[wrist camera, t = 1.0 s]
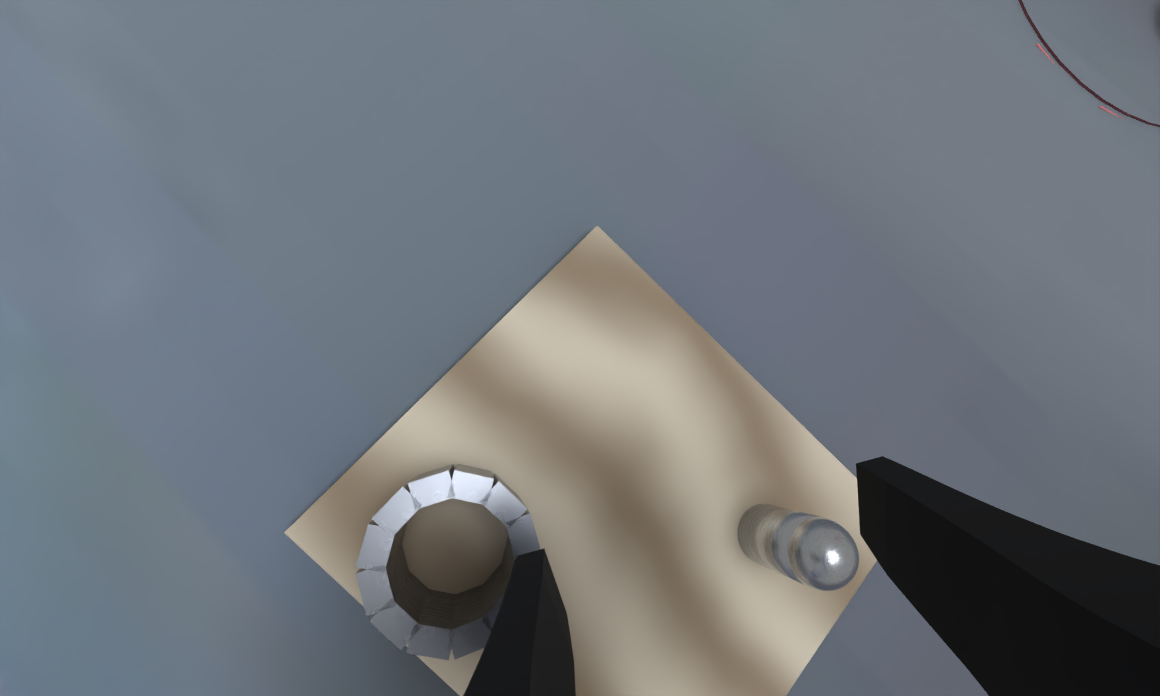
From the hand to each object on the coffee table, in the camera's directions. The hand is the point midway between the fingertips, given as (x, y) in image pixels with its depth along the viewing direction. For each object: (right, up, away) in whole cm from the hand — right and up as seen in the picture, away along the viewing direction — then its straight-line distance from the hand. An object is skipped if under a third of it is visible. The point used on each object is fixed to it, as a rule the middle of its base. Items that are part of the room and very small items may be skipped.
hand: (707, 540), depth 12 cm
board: (-1, -3, +12) cm, 12 cm away
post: (+5, -4, +13) cm, 15 cm away
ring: (-8, -3, +10) cm, 13 cm away
